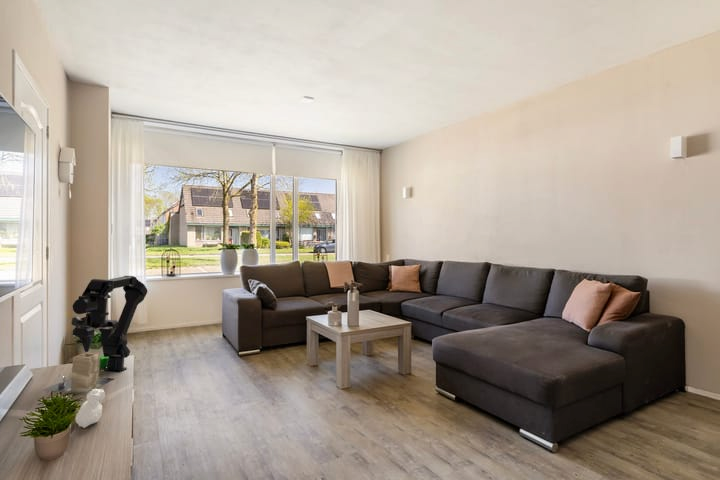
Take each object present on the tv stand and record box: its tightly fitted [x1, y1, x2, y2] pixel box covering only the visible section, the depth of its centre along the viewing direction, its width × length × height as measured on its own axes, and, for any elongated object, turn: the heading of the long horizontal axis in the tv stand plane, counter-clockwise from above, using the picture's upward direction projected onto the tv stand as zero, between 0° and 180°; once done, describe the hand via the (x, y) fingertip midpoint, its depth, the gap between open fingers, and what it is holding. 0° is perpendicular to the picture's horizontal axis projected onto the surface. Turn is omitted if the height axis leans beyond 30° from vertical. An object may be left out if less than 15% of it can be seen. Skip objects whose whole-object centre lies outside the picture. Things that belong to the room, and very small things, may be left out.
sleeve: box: [70, 352, 101, 391], centre depth 149 cm, size 6×6×12 cm
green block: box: [99, 355, 109, 370], centre depth 177 cm, size 11×4×5 cm, turn 71°
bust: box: [75, 388, 106, 429], centre depth 126 cm, size 12×8×11 cm
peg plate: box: [43, 375, 116, 395], centre depth 153 cm, size 17×16×6 cm
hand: (94, 348), depth 161 cm, fingers open, 9 cm apart
